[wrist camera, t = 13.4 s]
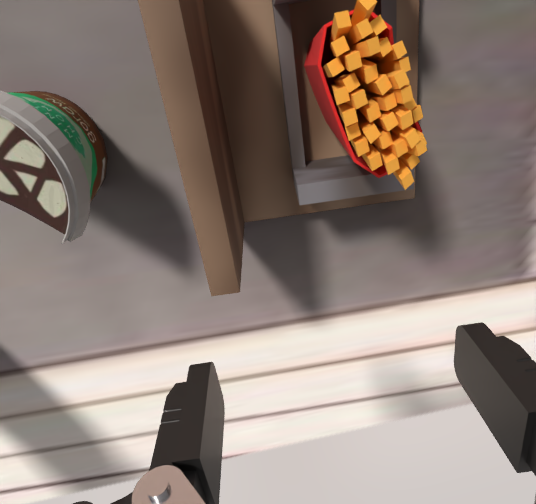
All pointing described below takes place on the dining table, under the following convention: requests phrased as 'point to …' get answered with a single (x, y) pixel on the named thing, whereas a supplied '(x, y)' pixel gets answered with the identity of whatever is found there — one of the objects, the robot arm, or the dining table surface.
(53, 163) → the food container
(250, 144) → the wooden shelf
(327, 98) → the french fries
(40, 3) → the dining table surface
